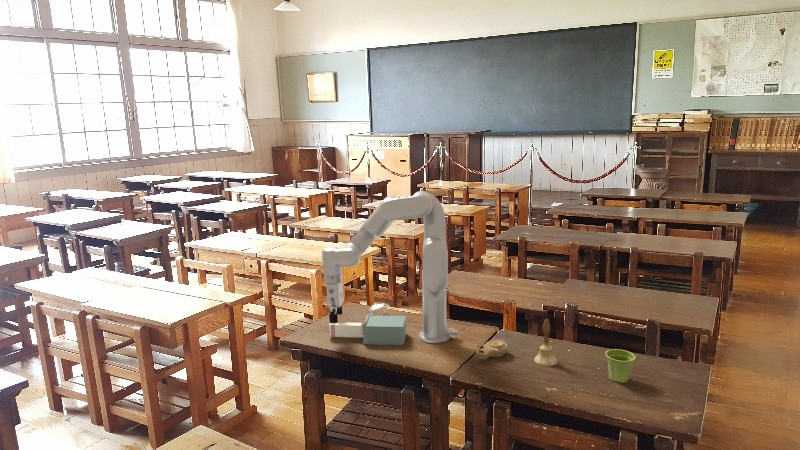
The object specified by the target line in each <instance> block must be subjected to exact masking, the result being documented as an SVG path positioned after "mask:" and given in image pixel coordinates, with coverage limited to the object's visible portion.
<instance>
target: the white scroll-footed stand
mask: <svg viewBox="0 0 800 450" xmlns="http://www.w3.org/2000/svg"><path fill="white" fill-rule="evenodd" d="M368 310H369V312H370V313H369V315H370V316H374V313H373V312H376V311H379V310H383V313H382V315H381V316H384V314H386V312H387V311H388V310H389V309H388V308H387V306H386V304H385V303H383V302H382V303H379V304H371V307H370V308H369V309H368Z"/></svg>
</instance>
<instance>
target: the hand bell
mask: <svg viewBox="0 0 800 450" xmlns="http://www.w3.org/2000/svg"><path fill="white" fill-rule="evenodd" d="M542 331H543V336H544V337H543V344H542V345H540V346H539V349H538V350H539V351H538V354H537V355H536V356H535V357H534V359H533V361H534V362H535V363H536V364H537V365H540V366H543V367H546V366H547V367H550V366H551V367H553V366H555V365H557V364H558V359H557V358H556V356H555V355H554V350H553V347H552V346H551V345H550V343H549V339H550V337H549V335H550V333H551V325H550V321H549V319H548V318H546V319H544V322H543V324H542Z"/></svg>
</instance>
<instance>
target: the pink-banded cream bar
mask: <svg viewBox="0 0 800 450" xmlns="http://www.w3.org/2000/svg"><path fill="white" fill-rule="evenodd" d="M328 331H329V338H363V322H339V321H338V323H330V322H329V324H328Z"/></svg>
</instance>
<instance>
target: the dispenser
mask: <svg viewBox="0 0 800 450" xmlns="http://www.w3.org/2000/svg"><path fill="white" fill-rule="evenodd" d="M406 318H407V317H406V315H383V316H382V315H370V313H369V314H367V315H366V317H365V319H364V321H363V323H362V339H363V340H362V342H363V345H388V346H389V345H390V346H392V345H393V346H394V345H395V346H404V344H405V340H406V334H407V331H406V330H407V329H406V328H407V327H406V325H407V324H406V320H407V319H406Z"/></svg>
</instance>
